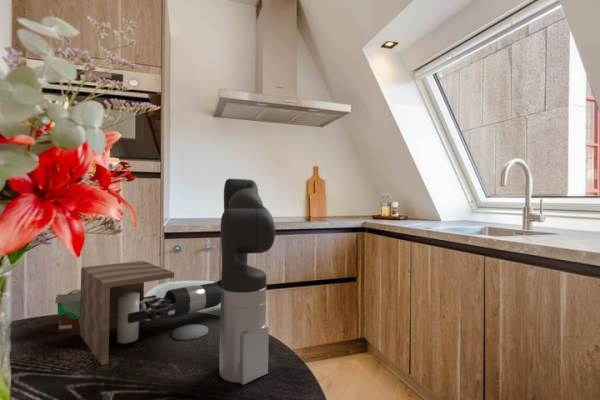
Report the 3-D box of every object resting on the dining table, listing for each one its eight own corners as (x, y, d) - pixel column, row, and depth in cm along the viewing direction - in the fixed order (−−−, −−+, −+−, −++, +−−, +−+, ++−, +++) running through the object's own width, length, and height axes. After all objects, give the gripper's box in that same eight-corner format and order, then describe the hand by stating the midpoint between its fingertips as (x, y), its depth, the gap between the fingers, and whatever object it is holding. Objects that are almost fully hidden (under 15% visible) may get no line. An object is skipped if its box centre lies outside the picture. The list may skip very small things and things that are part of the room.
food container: (77, 334, 81) (78, 295, 81) (54, 334, 81) (55, 295, 81) (108, 317, 94) (108, 283, 94) (87, 317, 94) (88, 283, 94)
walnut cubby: (172, 343, 77) (174, 272, 77) (101, 365, 66) (103, 282, 66) (141, 319, 92) (142, 260, 92) (79, 334, 81) (81, 267, 81)
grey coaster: (214, 333, 83) (214, 331, 83) (181, 343, 77) (181, 341, 77) (198, 323, 90) (198, 321, 90) (166, 332, 83) (166, 330, 83)
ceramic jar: (141, 339, 79) (142, 295, 79) (120, 345, 76) (121, 299, 76) (135, 333, 82) (135, 291, 82) (114, 339, 79) (115, 294, 79)
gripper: (175, 282, 95) (114, 292, 83) (197, 292, 85) (132, 305, 73) (174, 307, 95) (113, 321, 83) (197, 320, 85) (131, 338, 73)
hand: (122, 314), depth 78 cm, fingers open, 8 cm apart
